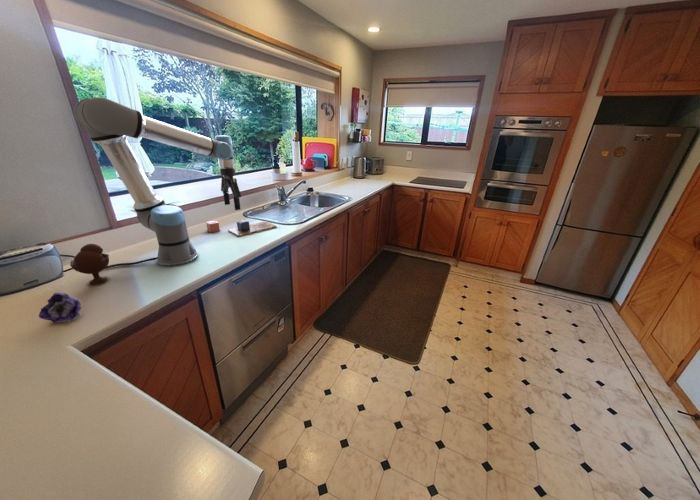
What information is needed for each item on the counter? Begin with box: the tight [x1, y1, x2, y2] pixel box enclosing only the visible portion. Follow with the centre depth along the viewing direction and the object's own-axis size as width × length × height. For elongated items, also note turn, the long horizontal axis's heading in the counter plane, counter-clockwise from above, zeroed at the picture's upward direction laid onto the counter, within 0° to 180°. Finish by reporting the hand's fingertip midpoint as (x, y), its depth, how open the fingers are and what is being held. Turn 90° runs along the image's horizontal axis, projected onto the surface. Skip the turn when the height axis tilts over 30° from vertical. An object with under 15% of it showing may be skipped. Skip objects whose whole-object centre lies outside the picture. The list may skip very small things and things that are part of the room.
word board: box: [228, 220, 277, 238], centre depth 164 cm, size 24×12×1 cm, turn 135°
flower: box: [38, 292, 82, 324], centre depth 86 cm, size 9×9×10 cm
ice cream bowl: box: [69, 243, 110, 287], centre depth 103 cm, size 11×11×15 cm
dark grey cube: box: [236, 219, 250, 232], centre depth 159 cm, size 5×5×5 cm
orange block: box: [205, 220, 221, 234], centre depth 159 cm, size 5×5×5 cm
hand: (232, 207), depth 155 cm, fingers open, 13 cm apart
